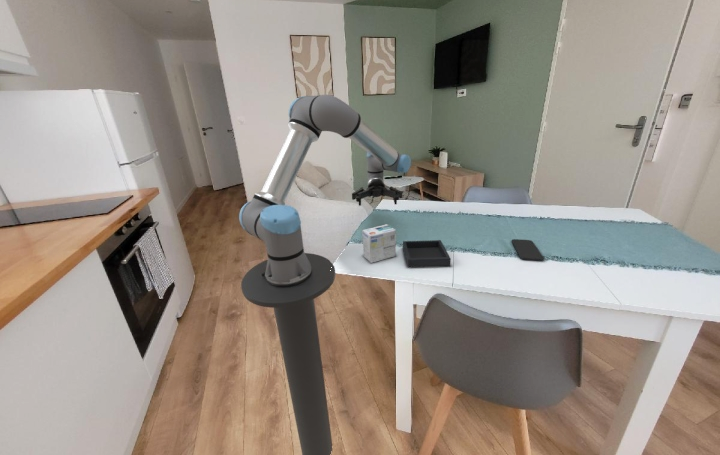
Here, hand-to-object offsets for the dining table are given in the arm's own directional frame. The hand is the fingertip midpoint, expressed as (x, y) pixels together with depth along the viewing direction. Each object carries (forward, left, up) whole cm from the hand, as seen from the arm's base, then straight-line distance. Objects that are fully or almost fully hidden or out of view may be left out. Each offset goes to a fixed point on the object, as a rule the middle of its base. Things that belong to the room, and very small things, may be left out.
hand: (377, 201), depth 109 cm
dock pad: (+16, -11, -18) cm, 27 cm away
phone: (+54, -9, -18) cm, 58 cm away
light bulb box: (0, -10, -18) cm, 21 cm away
